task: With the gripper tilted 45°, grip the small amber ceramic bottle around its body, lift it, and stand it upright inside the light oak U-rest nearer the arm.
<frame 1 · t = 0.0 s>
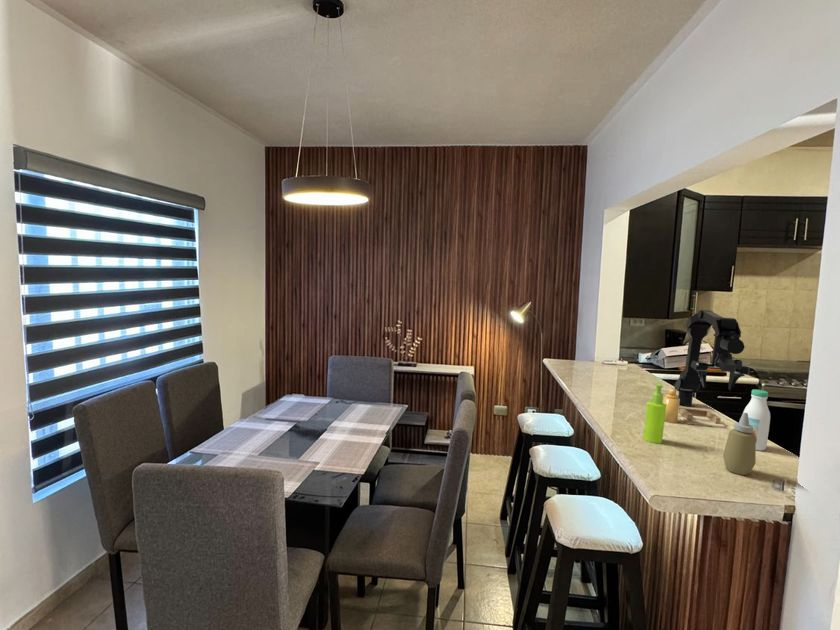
hand: (716, 388, 180), 15 cm above the counter, tool pointing down, fingers open, 9 cm apart
squeeze bottle: (737, 471, 138), on the counter
u rest: (699, 420, 186), on the counter
amber bottle: (669, 420, 184), on the counter
soap dispenser: (652, 440, 161), on the counter
milk bottle: (752, 447, 160), on the counter
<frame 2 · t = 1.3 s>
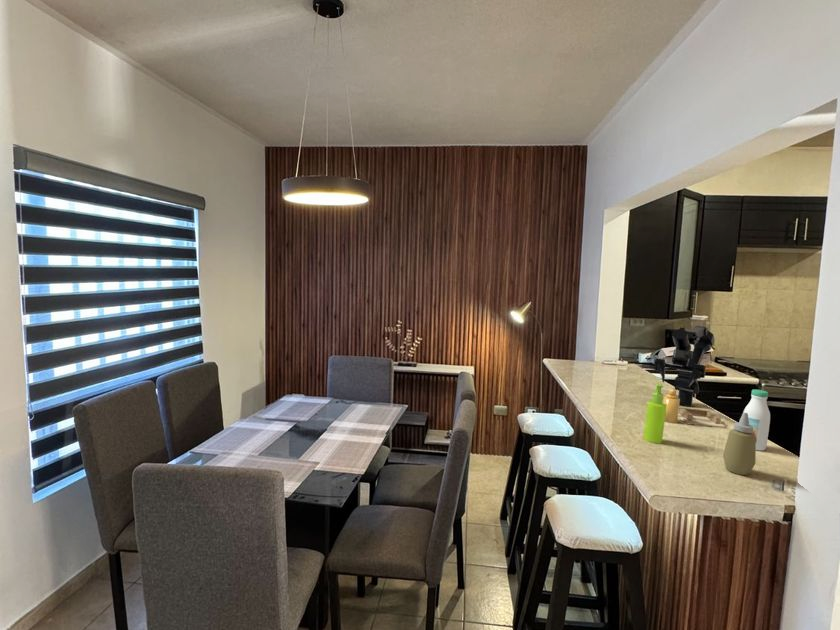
hand: (675, 384, 189), 14 cm above the counter, tool tilted 45°, fingers open, 9 cm apart
nothing on the counter moved.
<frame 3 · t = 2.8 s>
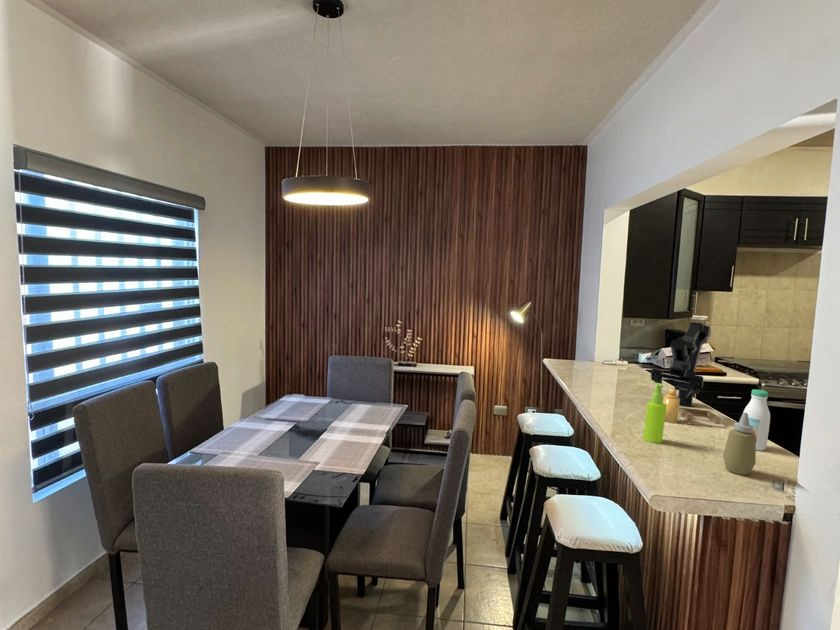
hand: (672, 395, 185), 10 cm above the counter, tool tilted 45°, fingers open, 9 cm apart
nothing on the counter moved.
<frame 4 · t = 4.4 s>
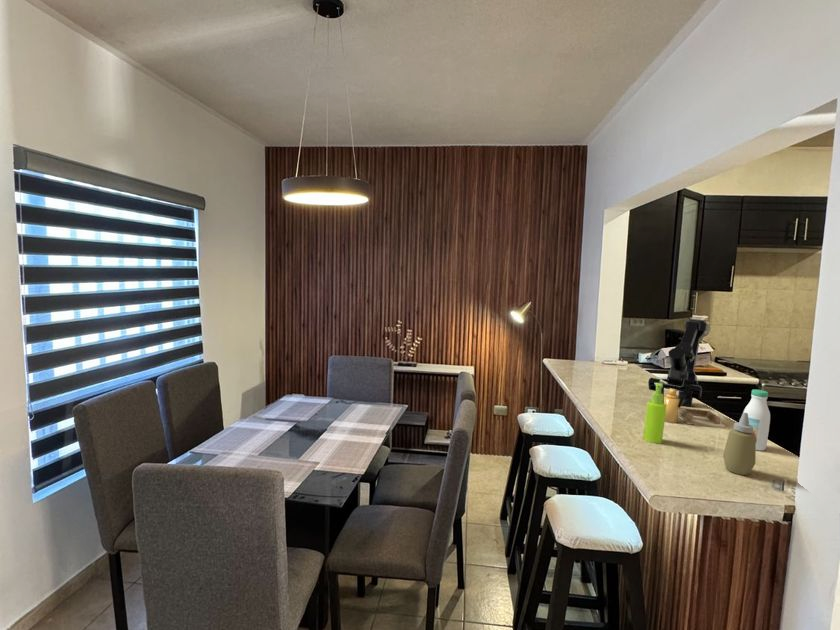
hand: (670, 405, 182), 7 cm above the counter, tool tilted 45°, fingers closed on amber bottle, 6 cm apart
amber bottle: (669, 420, 184), on the counter, touching gripper
everything else where it was.
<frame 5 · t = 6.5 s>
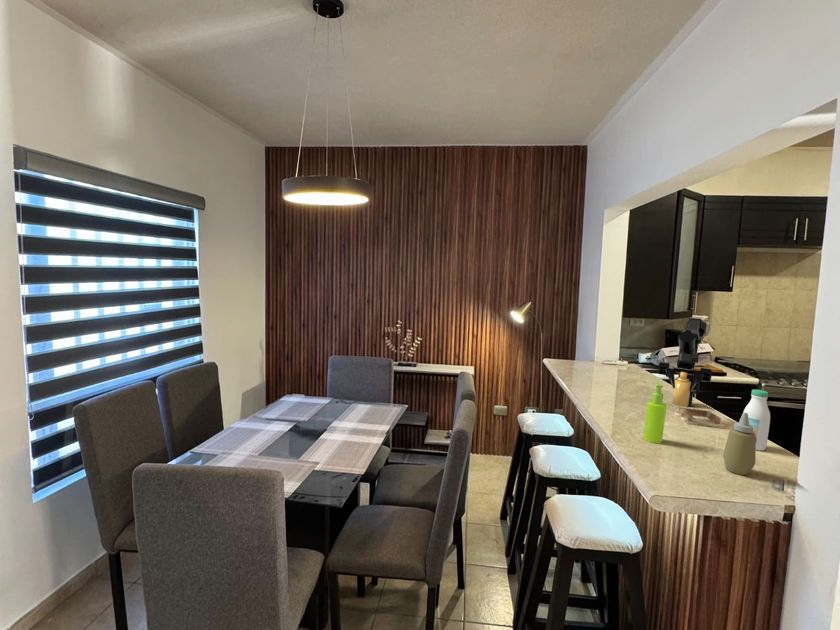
hand: (682, 388, 181), 13 cm above the counter, tool tilted 45°, fingers closed on amber bottle, 6 cm apart
amber bottle: (680, 404, 183), point 7 cm above the counter, touching gripper
everything else where it was.
when the fingers open (8 cm above the counter, at t = 9.0 s): amber bottle drops 1 cm, resting on u rest.
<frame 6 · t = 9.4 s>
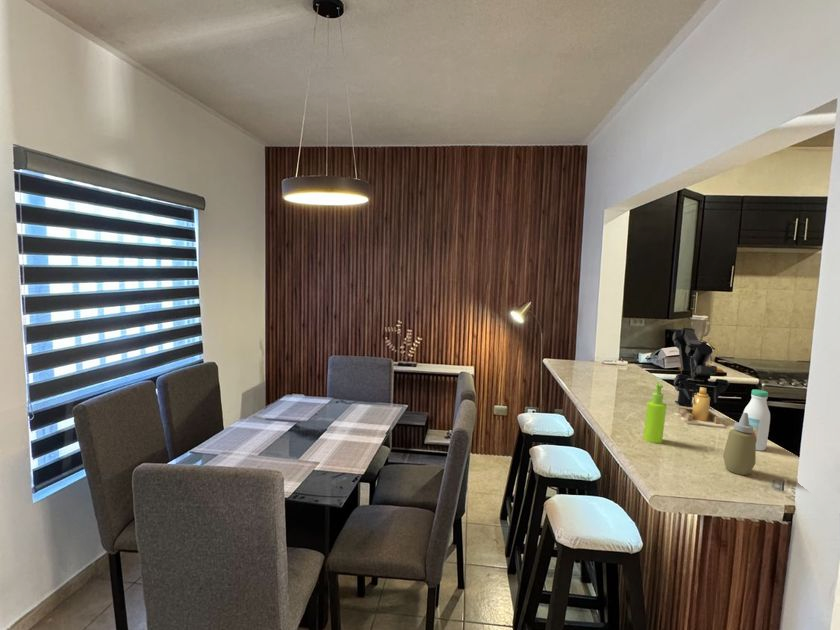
hand: (702, 400, 184), 9 cm above the counter, tool tilted 45°, fingers open, 9 cm apart
amber bottle: (699, 418, 186), point 1 cm above the counter, touching u rest
everything else where it was.
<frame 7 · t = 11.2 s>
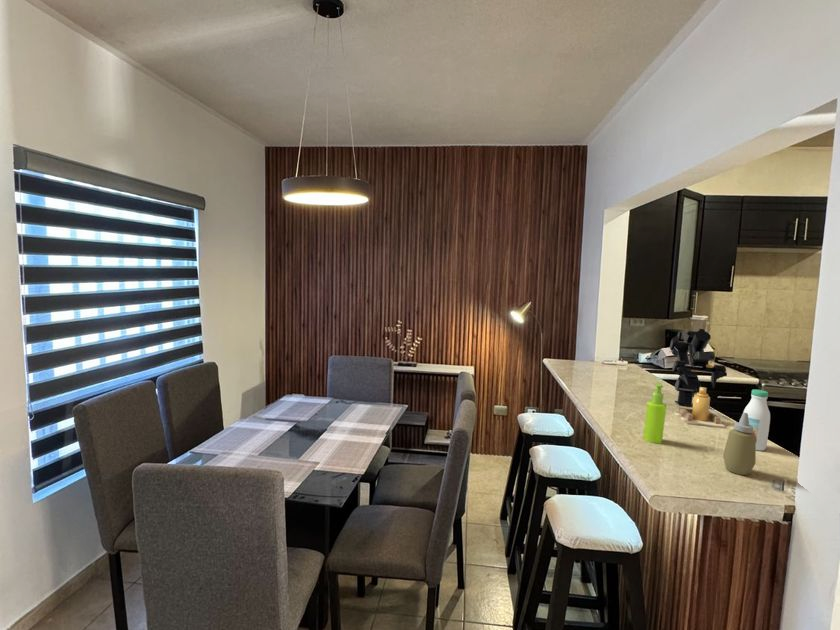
hand: (700, 386, 188), 13 cm above the counter, tool tilted 45°, fingers open, 9 cm apart
nothing on the counter moved.
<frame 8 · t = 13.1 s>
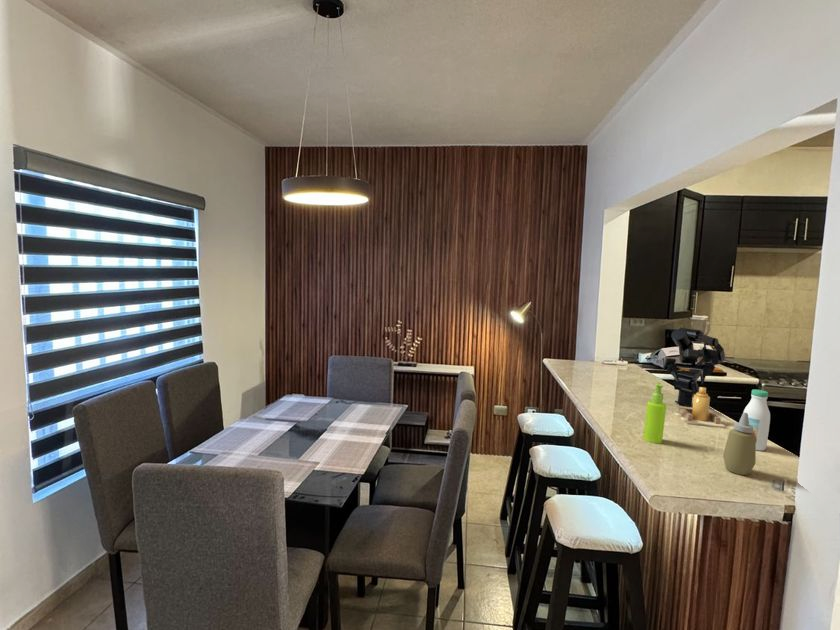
hand: (690, 382, 193), 14 cm above the counter, tool tilted 45°, fingers open, 9 cm apart
nothing on the counter moved.
at the end: amber bottle 0.1 cm off-centre on the u rest, point 0.6 cm above the u rest's base; amber bottle tilted 1°; the gripper is holding nothing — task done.
